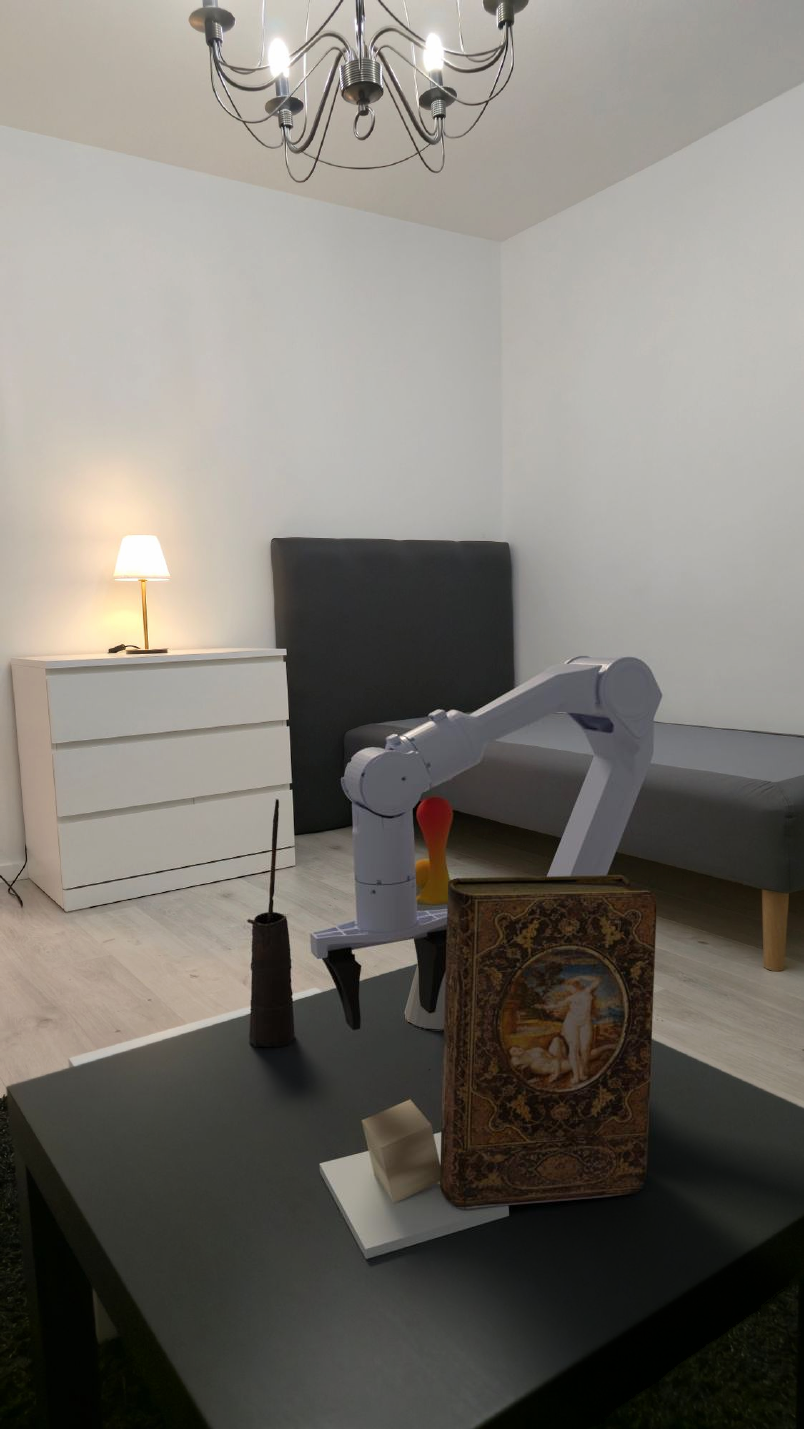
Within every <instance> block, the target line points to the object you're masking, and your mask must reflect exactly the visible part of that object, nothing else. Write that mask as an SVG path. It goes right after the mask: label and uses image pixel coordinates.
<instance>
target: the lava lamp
mask: <svg viewBox="0 0 804 1429" xmlns="http://www.w3.org/2000/svg"><path fill="white" fill-rule="evenodd" d="M452 780H453V777H452V778H450V779H448V780H446V781H444V782H443V783H447V782H450V781H452ZM453 818H454V812H453V808H452V806H451V804H450V803H449V802H448V801H447V800H446V799H445V798H443V797H440V796H429V797H427V798H425V799H423V800H422V801H421V803H420V804H419V805H418V807H417V810H416V820H417V823H418V825H419V828H420V829H421V832H422V835H423V838H424V841H425V844H426V848H427V854H428V855H427V856H428V858H423V859H419V860H417V861H415V875H416V898H417V911H430V910H442V909H447V905H448V882H449V881H450V880H451V878H450V874H449V871H448V870H449V869H448V866H447V865H448V864H447V853H446V852H447V851H446V849H447V842H448V837H449V834H450V829H451V826H452V822H453ZM414 972H415V973H414V976H413V979H412V983H411V987H410V990H409V994H408V995H409V996H408V998H407V1002H406V1006H405V1009H404V1013H403V1015H404V1014H405V1019H407V1021H408V1022H411V1023H413V1024H415V1025H417V1026H419V1027H424V1028H431V1029H444V1015H445V978H446V972H445V974H444V977H443V980H442V983H441V987H440V991H439V995H438V1000H437V1005H436V1011H435V1013H430V1014H429V1013H428V1012H427V1011H426V1010H424V1009H423V1008H422V1007H421V1005H420V998H419V971H418V963H417V965H416V968H415V971H414ZM405 1019H404V1020H405ZM407 1021H406V1022H407ZM408 1022H407V1023H408Z"/></svg>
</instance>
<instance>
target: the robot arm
mask: <svg viewBox="0 0 804 1429" xmlns="http://www.w3.org/2000/svg"><path fill="white" fill-rule="evenodd" d="M662 698H663V693H662V691H661V689H660V686H659V685H658V682H657V680H656V678H655V675H654V673H653V671H652V670H651V668H650V666H649V665H648V664H647V663H646V662H644V661H643V660H642V659H639V658H637V657H635V656H621V657H591V656H588V655H577V656H573V657H571V658H568V659H567V660H566V661H565V662H561V663H557V664H554V665H550V666H549V667H547V668H546V669H545V670H543V671H542V672H540V673H539V674H537V675H535V676H534V677H531V678H530V679H529V680H527V681H525V682H524V683H522V684H520V685H518V686H517V687H515V688H513V689H511V690H510V691H508V692H506V693H504V694H503V695H501V696H499V697H497V698H496V699H494V700H493V701H490V702H489V703H487V704H486V705H484V706H482V707H481V708H478V709H477V710H475V711H473V712H472V713H470V714H467V713H464V712H463V711H459V710H456V709H450V710H449V711H447V712H446V710H444V709H436V710H434V711H432V712H430V713H429V714H428V718H429V721H427V722H425V723H423V724H421V725H419V726H417V727H414V728H412V729H411V730H409V731H407V732H405V733H403V734H401V735H399V734H396V733H392V734H391V735H388V736H386V737H385V741H386V742H385V743H386V744H385V748H382V747H374V746H372V747H365V748H363V749H360V750H359V751H358V752H356V753H355V754H354V755H353V756H352V757H351V758H350V759H351V760H350V762H348V763H347V764H346V766H345V771H344V774H343V775H344V776H342V777H341V778H340V784H341V788H342V790H343V792H344V795H345V796H346V797H347V799H349V800H350V802H352V803H351V812H352V814H351V815H352V830H351V831H352V834H351V835H352V848H353V849H352V850H353V851H352V852H353V873H354V874H353V875H354V890H355V891H354V894H355V913H356V915H355V916H356V917H355V918H356V919H353V920H350V921H347V922H344V923H341V924H338V925H334V926H332V927H328V928H325V929H324V928H323V929H321V930H316V931H311V932H310V933H309V938H310V952H311V954H312V955H313V956H314V958H316V959H317V960H321V959H322V962H323V964H324V965H325V967H326V968H327V970H328V974H330V976H331V979H332V981H333V984H334V985H335V988H336V990H337V991H336V992H338V993H337V994H338V995H339V999H340V1002H341V1006H342V1008H343V1013H344V1017H345V1023H346V1025H347V1026H348V1027H350V1028H351V1029H352V1031H358V1030H361V1024H362V1023H361V1021H362V1020H361V1019H362V1017H361V1008H360V981H361V978H360V977H361V973H362V972H361V971H362V965H361V964H360V963H359V962H358V961H356V954H355V953H353V951H354V950H360V949H365V948H371V947H376V946H381V945H386V944H387V945H388V944H392V943H397V942H403V941H408V940H413V942H414V947H415V954H416V962H417V964H418V971H419V998H420V1005H421V1007H422V1008H423V1009H424V1010H426V1011H427V1012H428V1013H429V1014H430V1013H435V1011H436V1005H437V1000H438V995H439V991H440V987H441V983H442V980H443V977H444V974H445V972H446V942H447V909H442V910H430V911H417V898H416V875H415V863H416V855H415V853H416V852H415V828H414V816H413V813H414V812H413V809H414V808H415V807H416V805H417V804H418V803H419V801H420V799H421V796H422V794H423V793H425V792H427V791H429V790H431V789H433V788H435V787H437V786H438V785H441V784H443V783H445V782H444V781H446V780H448V779H450V778H452V779H453V778H454V777H455V776H457V775H459V774H461V773H463V772H464V771H466V770H469V769H471V768H472V767H474V766H476V765H479V763H480V762H481V761H482V760H483V757H484V754H485V750H486V747H487V745H490V743H493V742H495V741H496V740H499V739H502V738H504V737H506V736H508V735H510V734H513V733H514V732H517V731H518V730H521V729H523V728H525V727H527V726H530V725H531V724H533V723H535V722H538V721H540V720H542V719H544V718H546V717H549V716H550V715H553V714H555V713H565V714H567V715H568V717H570V718H571V719H572V721H573V722H574V723H575V724H576V725H577V726H578V727H579V728H580V730H581V731H582V732H583V733H584V734H585V737H586V738H587V739H586V740H587V741H588V743H589V746H590V747H591V750H592V752H593V758H592V761H591V764H590V766H589V768H588V771H587V774H586V775H585V778H584V781H583V784H582V786H581V788H580V792H579V793H578V797H577V799H576V801H575V803H574V806H573V809H572V812H571V815H570V817H569V820H568V822H567V824H566V826H565V830H564V832H563V835H562V837H561V840H560V842H559V845H558V847H557V850H556V852H555V854H554V857H553V860H552V862H551V865H550V867H549V870H548V873H547V875H546V876H601V875H608V873H609V870H610V867H611V865H612V863H613V860H614V857H615V855H616V852H617V850H618V847H619V845H620V842H621V839H622V838H623V835H624V831H625V829H626V827H627V824H628V822H629V819H630V816H631V814H632V812H633V808H634V806H635V803H636V802H637V801H636V800H637V798H638V795H639V793H640V790H641V789H642V786H643V782H644V780H645V777H646V775H647V772H648V771H649V767H650V765H651V762H652V759H653V756H654V742H655V736H654V734H655V730H654V729H655V716H656V714H657V711H658V708H659V706H660V704H661V701H662Z"/></svg>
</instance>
